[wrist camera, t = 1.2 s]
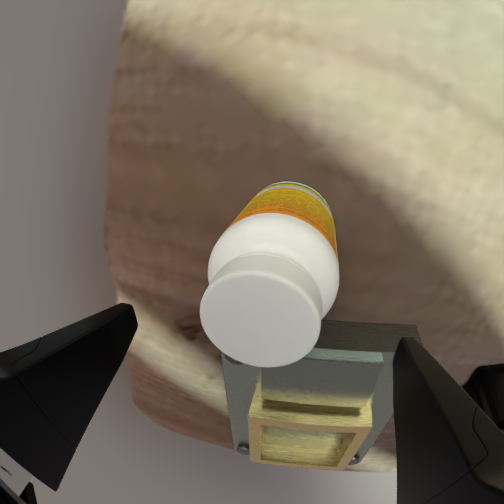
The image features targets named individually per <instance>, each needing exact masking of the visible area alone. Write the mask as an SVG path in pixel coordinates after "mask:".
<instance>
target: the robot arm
mask: <svg viewBox="0 0 504 504" xmlns="http://www.w3.org/2000/svg"><path fill="white" fill-rule="evenodd" d="M137 327H138V323H137V319H136V315H135V312H134V308H133V306H132V305H130V304H126V303H120V304H118V305H115V306H113V307H110V308H108V309H106V310H103V311H101V312H99V313H96V314H94V315H92V316H89V317H87V318H85V319H82V320H80V321H78V322H75V323H73V324H71V325H68V326H66V327H63V328H61V329H59V330H56V331H54V332H52V333H49V334H47V335H45V336H43V337H40V338H38V339H35V340H33V341H31V342H28V343H26V344H23V345H20V346H18V347H15V348H12V349H9V350H6V351H4V352H0V504H37V501H36V496H35V492H34V487H33V484H32V483H31V482H30V481H29V480H30V479H31V478H32V476H34V477H36V478H37V479H38V480H40V481H41V482H43V483H44V484H45V485H47V486H48V487H50V488H51V489H53V490H54V491H57V489H58V488H59V485H60V483H61V481H62V479H63V476H64V474H65V472H66V470H67V468H68V466H69V463H70V461H71V459H72V457H73V455H74V453H75V451H76V448H77V447H78V444H79V442H80V441H81V438H82V436H83V435H84V433H85V431H86V429H87V427H88V424H89V423H90V421H91V419H92V417H93V415H94V413H95V411H96V409H97V407H98V405H99V404H100V402H101V400H102V398H103V396H104V394H105V392H106V391H107V389H108V387H109V385H110V383H111V381H112V379H113V378H114V376H115V374H116V373H117V371H118V369H119V367H120V365H121V363H122V361H123V359H124V357H125V355H126V353H127V350H128V348H129V346H130V344H131V341H132V339H133V337H134V335H135V332H136V330H137ZM393 411H394V422H395V435H396V454H397V504H504V364H498V365H490V366H481V367H479V368H478V369H477V370H476V371H475V373H474V374H473V376H472V378H471V379H470V381H469V382H468V384H467V385H466V387H465V388H464V390H463V388H462V387H461V386H460V385H459V384H458V383H457V382H456V381H455V380H454V379H453V378H452V377H451V375H450V374H449V373H448V372H447V371H446V370H445V369H444V368H443V367H442V366H441V365H440V364H439V363H438V362H437V361H436V360H435V359H434V358H433V357H432V356H431V355H430V354H429V352H428V351H427V350H426V349H425V348H424V347H423V346H422V345H421V344H420V343H419V342H418V341H417V340H416V339H415V338H413V337H402V338H401V339H400V341H399V344H398V346H397V349H396V351H395V354H394V357H393Z"/></svg>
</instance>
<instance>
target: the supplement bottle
mask: <svg viewBox="0 0 504 504" xmlns="http://www.w3.org/2000/svg"><path fill="white" fill-rule="evenodd" d="M208 281H209V286H208V288H207V289H206V291H205V293H204V295H203V297H202V300H201V304H200V319H201V323H202V326H203V329H204V331H205V333H206V334H207V336H208V337H209V339H210V340H211V341H212V343H213V344H214V345H215V346H216V347H217V348H218V349H220V350H221V351H222V352H223V353H225V354H226V355H228V356H229V357H231V358H233V359H235V360H237V361H239V362H242V363H245V364H248V365H252V366H257V367H280V366H285V365H288V364H291V363H294V362H296V361H298V360H300V359H301V358H303V357H304V356H306V355H307V354H308V353H309V352H310V351H311V350H312V348H313V347H314V345H315V344H316V342H317V340H318V338H319V334H320V329H321V319H322V318H323V317H324V316H325V315H326V314H327V313H328V311H329V310H330V308H331V307H332V305H333V303H334V301H335V298H336V295H337V292H338V287H339V264H338V254H337V244H336V235H335V227H334V220H333V215H332V212H331V210H330V208H329V206H328V204H327V202H326V201H325V200H324V198H323V197H322V196H321V195H320V194H319V193H318V192H316V191H315V190H314V189H312V188H310V187H308V186H306V185H304V184H301V183H296V182H279V183H275V184H272V185H270V186H268V187H266V188H264V189H262V190H261V191H260V192H259V193H257V194H256V195H255V196H254V197H253V199H252V200H251V201H250V202H249V203H248V205H247V206H246V207H245V208H244V209H243V210H242V212H241V213H240V214H239V215H238V216H237V218H236V219H235V220H234V221H233V222H232V224H231V225H230V226H229V227H228V228H227V229H226V230H225V232H224V233H223V234H222V236H221V237H220V239H219V240H218V242H217V243H216V245H215V247H214V248H213V251H212V253H211V256H210V259H209V264H208Z"/></svg>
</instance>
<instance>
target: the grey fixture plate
mask: <svg viewBox="0 0 504 504" xmlns="http://www.w3.org/2000/svg"><path fill="white" fill-rule="evenodd" d="M402 337H413V338H415V339H416V340H417V341H418V342H419V343H420V344H421V345H422V342H421V339H420V336H419V333H418V330H417V327H416V325H395V324H374V323H357V322H342V321H329V320H321V329H320V334H319V338H318V340H317V342H316V344H315V345H314V347H313V348H312V350H311V351H310V352H309V353H308V354H307V355H306V356H304V357H303V358H301V359H300V360H298V361H296V362H294V363H291V364H288V365H285V366H280V367H257V366H252V365H248V364H245V363H242V362H239V361H237V360H235V359H233V358H231V357H229V356H228V355H226V354H225V353H223V352H222V351H221V357H222V365H223V373H224V381H225V388H226V395H227V403H228V410H229V416H230V423H231V430H232V436H233V443H234V449H235V450H237V452H239V453H241V454H245V455H249V454H250V461H251V462H258V463H263V464H270V465H277V466H286V467H295V468H306V469H320V470H345V468H346V467H347V465H353V464H357V463H359V462H360V461H361V460H362V459H363V457H364V456H365V454H366V453H367V452H368V450H369V449H370V447H371V446H372V445H373V443H374V442H375V440H376V439H377V437H378V436H379V434H380V433H381V431H382V430H383V428H384V427H385V425H386V423H387V422H388V420H389V419H390V417H391V415H392V414H393V412H394V411H393V357H394V354H395V351H396V349H397V346H398V344H399V341H400V339H401V338H402ZM422 346H423V345H422Z"/></svg>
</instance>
